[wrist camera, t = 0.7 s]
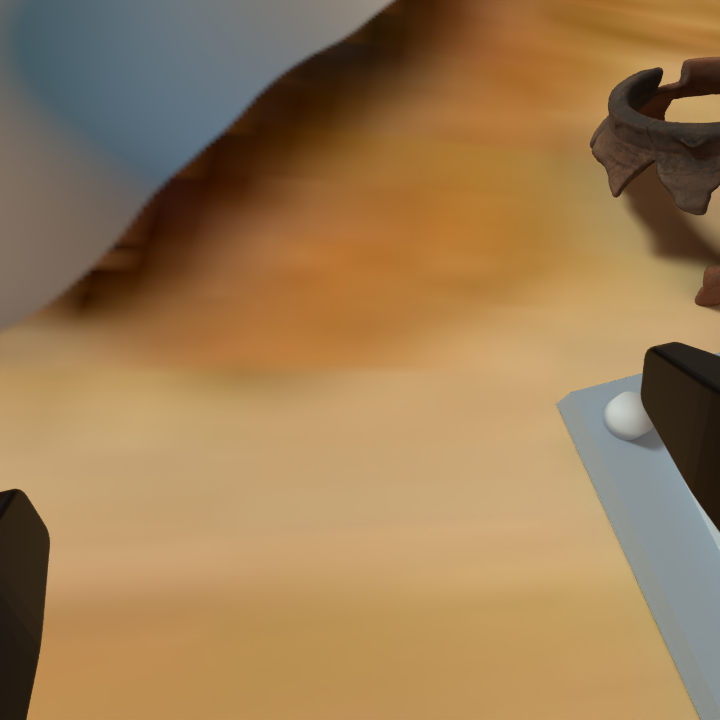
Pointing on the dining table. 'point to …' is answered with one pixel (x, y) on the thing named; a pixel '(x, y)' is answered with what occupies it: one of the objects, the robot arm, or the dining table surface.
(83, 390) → the dining table surface
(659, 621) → the board
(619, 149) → the pottery mug
